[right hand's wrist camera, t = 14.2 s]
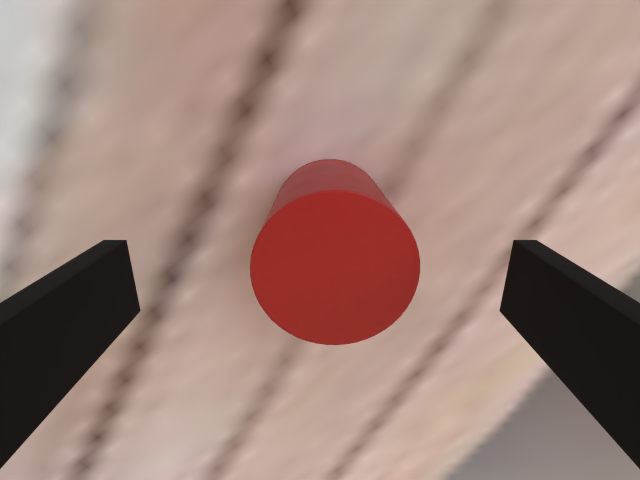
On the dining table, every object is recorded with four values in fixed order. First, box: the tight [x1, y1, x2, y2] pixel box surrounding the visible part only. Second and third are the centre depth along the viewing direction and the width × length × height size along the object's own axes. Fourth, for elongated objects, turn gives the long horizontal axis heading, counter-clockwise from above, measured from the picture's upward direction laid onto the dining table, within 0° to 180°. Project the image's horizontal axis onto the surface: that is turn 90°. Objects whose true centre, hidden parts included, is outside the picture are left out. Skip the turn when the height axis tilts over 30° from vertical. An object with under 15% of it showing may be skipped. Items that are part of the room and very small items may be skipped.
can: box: [250, 159, 420, 345], centre depth 20 cm, size 7×7×10 cm
